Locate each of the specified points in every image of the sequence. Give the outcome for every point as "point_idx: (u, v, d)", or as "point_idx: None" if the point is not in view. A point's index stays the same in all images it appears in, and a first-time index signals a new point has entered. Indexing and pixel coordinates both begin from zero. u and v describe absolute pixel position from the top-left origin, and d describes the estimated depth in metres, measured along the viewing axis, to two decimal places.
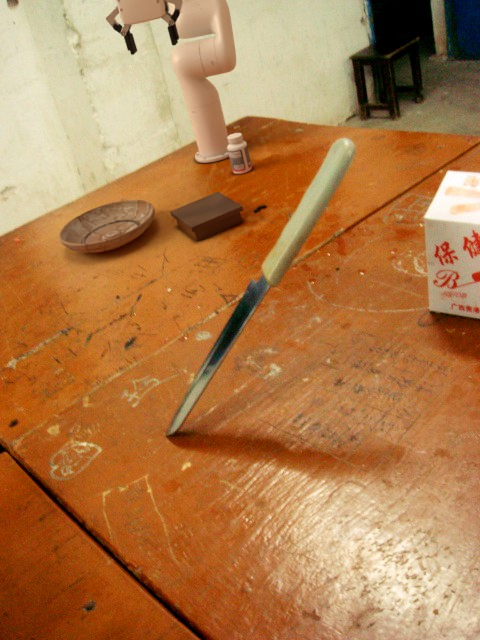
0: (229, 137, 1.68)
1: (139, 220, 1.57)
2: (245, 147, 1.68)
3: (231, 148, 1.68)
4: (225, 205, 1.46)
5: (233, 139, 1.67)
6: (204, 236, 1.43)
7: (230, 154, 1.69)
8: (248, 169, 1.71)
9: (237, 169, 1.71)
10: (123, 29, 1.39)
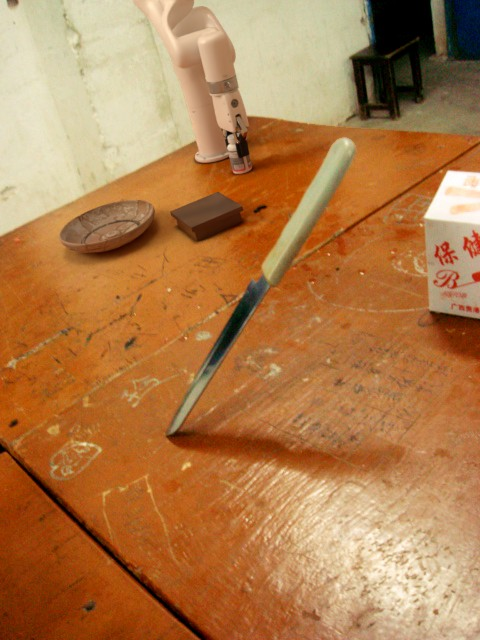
0: (229, 137, 1.68)
1: (139, 220, 1.57)
2: None
3: (231, 148, 1.68)
4: (225, 205, 1.46)
5: (233, 140, 1.67)
6: (204, 236, 1.43)
7: (230, 154, 1.69)
8: (248, 169, 1.71)
9: (237, 169, 1.71)
10: (224, 133, 1.70)
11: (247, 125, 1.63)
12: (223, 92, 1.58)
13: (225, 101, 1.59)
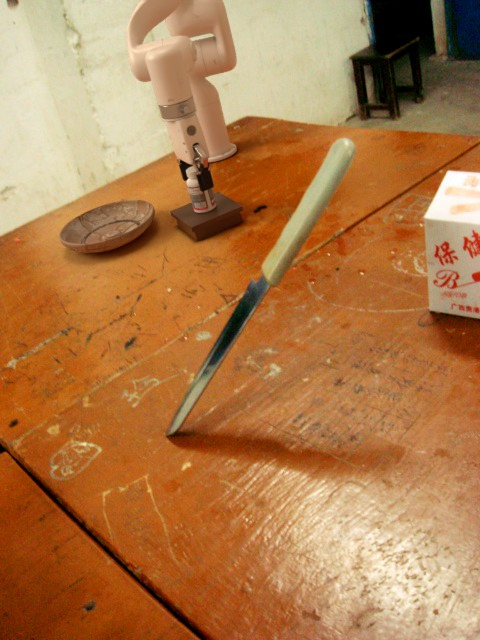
0: (188, 170, 1.42)
1: (139, 220, 1.57)
2: None
3: (190, 183, 1.42)
4: (225, 205, 1.46)
5: (193, 174, 1.41)
6: (204, 236, 1.43)
7: (189, 190, 1.43)
8: (211, 207, 1.45)
9: (198, 207, 1.44)
10: (177, 158, 1.45)
11: (207, 156, 1.37)
12: (177, 117, 1.32)
13: (180, 128, 1.32)
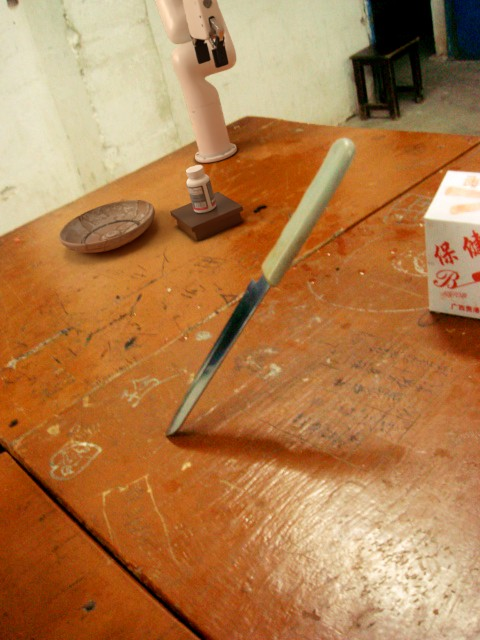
0: (188, 170, 1.42)
1: (139, 220, 1.57)
2: (207, 182, 1.42)
3: (190, 183, 1.42)
4: (225, 205, 1.46)
5: (192, 174, 1.41)
6: (204, 236, 1.43)
7: (189, 190, 1.43)
8: (211, 207, 1.45)
9: (198, 207, 1.44)
10: (193, 40, 1.49)
11: None
12: None
13: (196, 0, 1.37)
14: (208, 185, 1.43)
